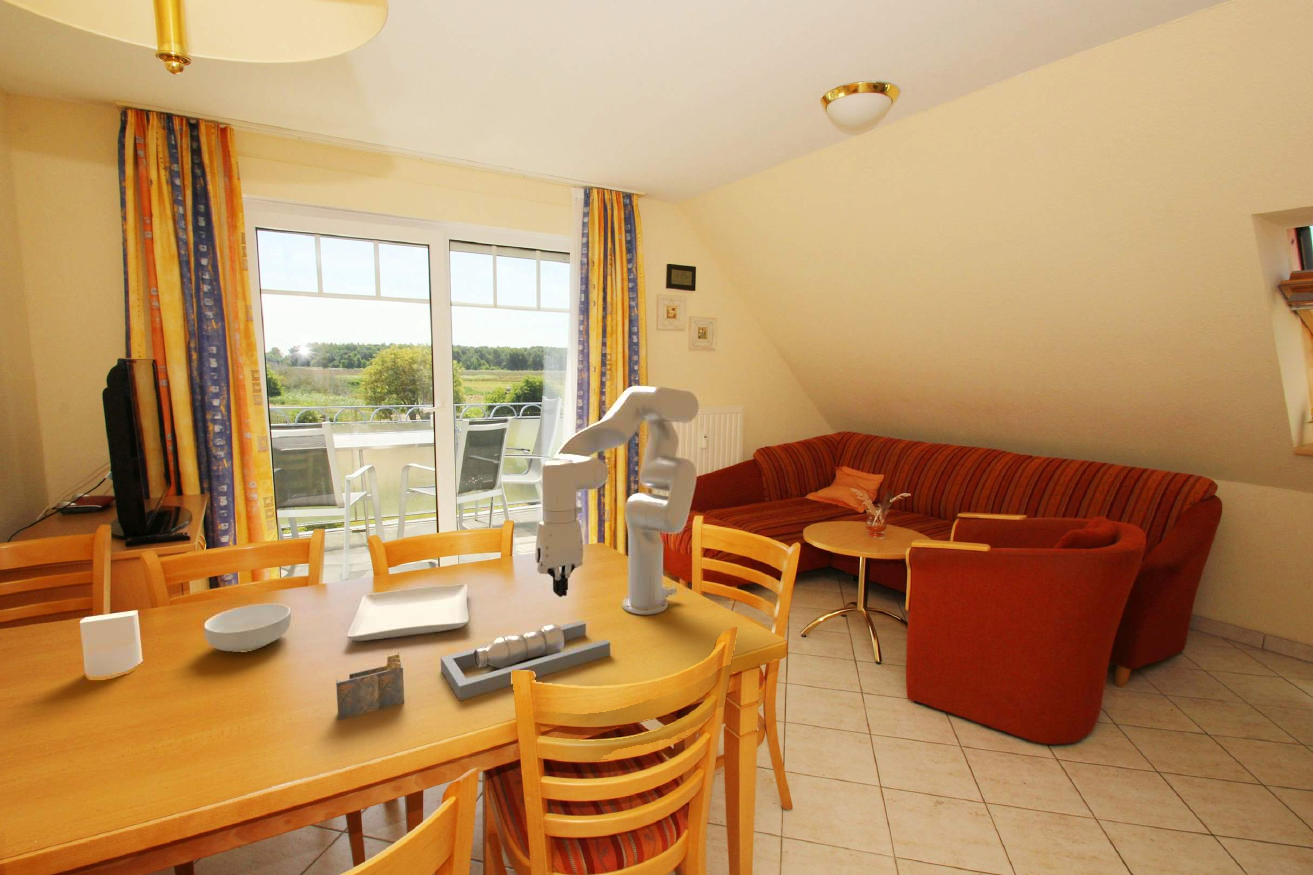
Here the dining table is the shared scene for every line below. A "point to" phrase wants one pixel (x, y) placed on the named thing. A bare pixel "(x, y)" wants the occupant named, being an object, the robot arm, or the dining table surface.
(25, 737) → the dining table surface
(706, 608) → the dining table surface
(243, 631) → the cereal bowl
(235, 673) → the dining table surface
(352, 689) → the ruin model on sheet
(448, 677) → the u rest
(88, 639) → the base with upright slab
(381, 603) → the square plate
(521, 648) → the plastic bottle
